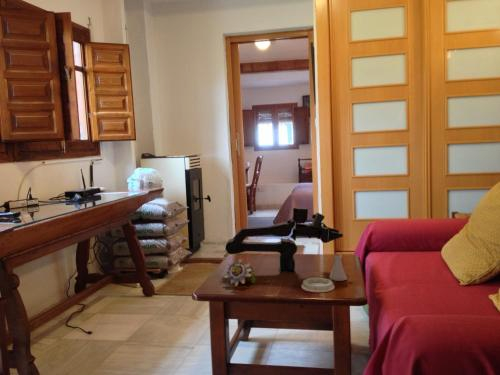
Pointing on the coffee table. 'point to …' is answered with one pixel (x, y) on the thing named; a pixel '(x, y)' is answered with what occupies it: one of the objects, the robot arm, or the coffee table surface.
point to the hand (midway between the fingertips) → (340, 233)
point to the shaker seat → (317, 285)
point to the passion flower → (239, 273)
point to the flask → (338, 270)
